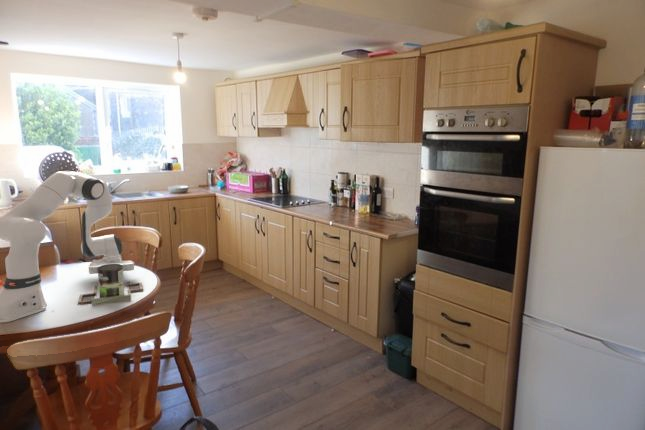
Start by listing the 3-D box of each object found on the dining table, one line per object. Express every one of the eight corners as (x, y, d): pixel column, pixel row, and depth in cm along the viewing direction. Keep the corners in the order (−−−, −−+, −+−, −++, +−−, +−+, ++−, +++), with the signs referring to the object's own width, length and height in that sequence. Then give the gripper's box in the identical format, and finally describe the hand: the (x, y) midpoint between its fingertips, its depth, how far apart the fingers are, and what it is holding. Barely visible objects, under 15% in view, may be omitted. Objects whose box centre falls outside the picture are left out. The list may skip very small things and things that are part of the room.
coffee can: (109, 302, 187) (107, 271, 185) (94, 298, 192) (92, 268, 189) (129, 295, 196) (128, 265, 194) (114, 291, 201) (113, 262, 198)
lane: (144, 298, 192) (143, 293, 192) (77, 307, 181) (77, 301, 181) (141, 282, 214) (141, 277, 214) (81, 289, 203) (81, 284, 202)
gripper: (134, 268, 223) (135, 275, 211) (90, 272, 215) (88, 279, 202) (134, 256, 222) (135, 263, 210) (89, 259, 214) (87, 267, 201)
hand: (111, 271), depth 206 cm, fingers closed
